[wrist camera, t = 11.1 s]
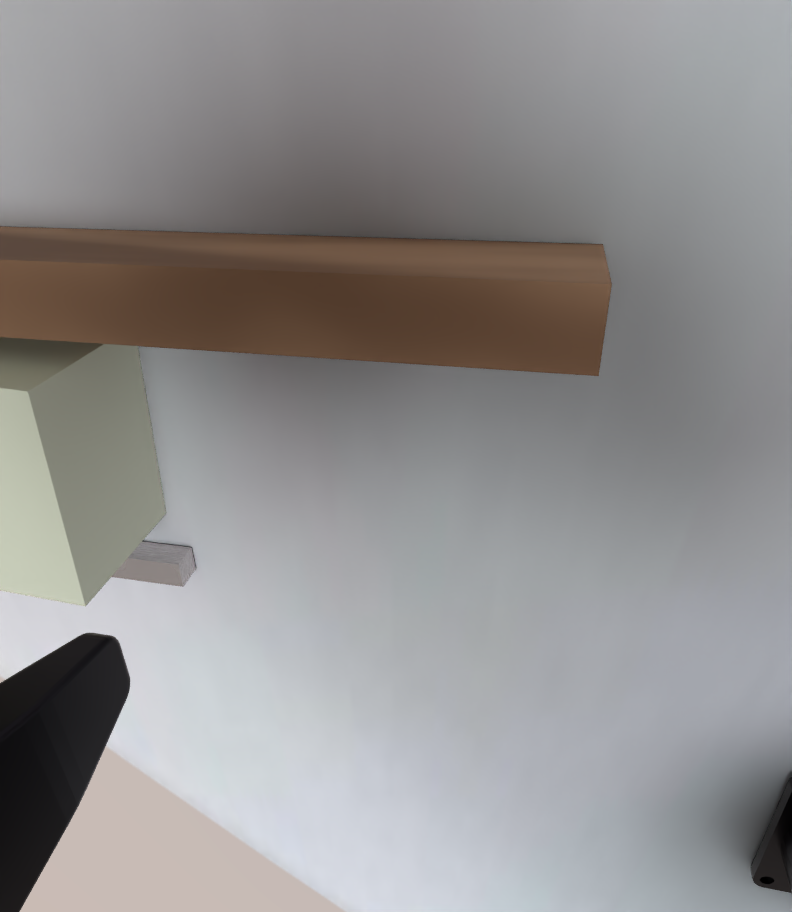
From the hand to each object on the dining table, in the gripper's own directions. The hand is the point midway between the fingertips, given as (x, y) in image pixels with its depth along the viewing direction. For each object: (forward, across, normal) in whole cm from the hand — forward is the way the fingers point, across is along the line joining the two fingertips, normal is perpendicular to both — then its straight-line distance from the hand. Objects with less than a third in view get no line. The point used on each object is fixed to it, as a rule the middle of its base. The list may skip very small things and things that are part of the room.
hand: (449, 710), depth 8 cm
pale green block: (+12, +14, +3) cm, 19 cm away
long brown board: (+12, +10, -2) cm, 16 cm away
